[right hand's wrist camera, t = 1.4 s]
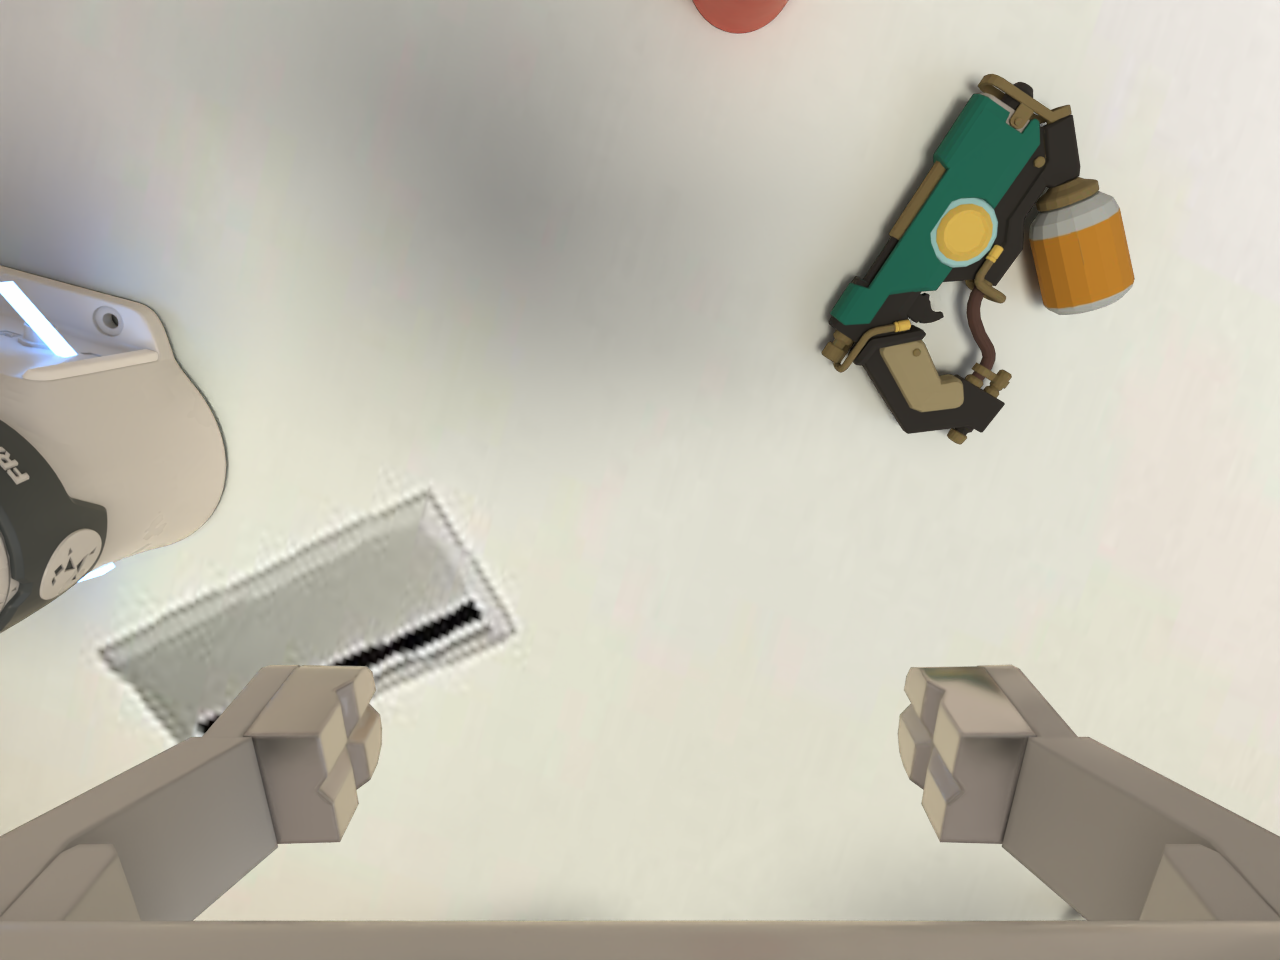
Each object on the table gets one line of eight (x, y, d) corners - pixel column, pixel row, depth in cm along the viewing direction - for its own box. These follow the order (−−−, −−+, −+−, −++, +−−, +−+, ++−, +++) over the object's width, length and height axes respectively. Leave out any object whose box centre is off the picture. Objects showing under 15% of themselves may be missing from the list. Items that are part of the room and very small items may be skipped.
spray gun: (916, 457, 44) (759, 285, 41) (1159, 265, 39) (1001, 52, 36) (938, 482, 40) (766, 293, 37) (1212, 272, 35) (1040, 32, 32)
